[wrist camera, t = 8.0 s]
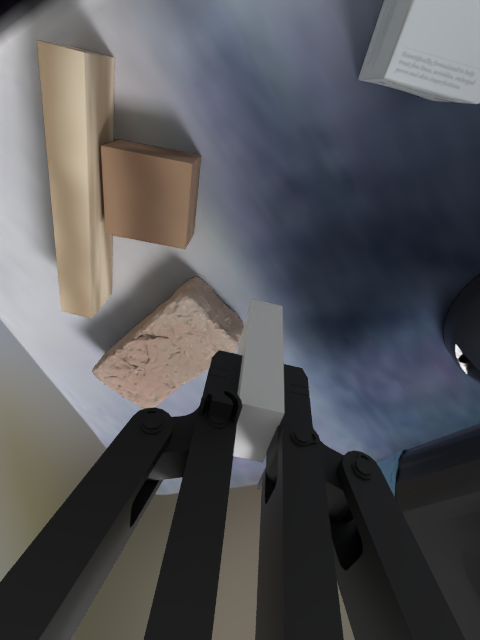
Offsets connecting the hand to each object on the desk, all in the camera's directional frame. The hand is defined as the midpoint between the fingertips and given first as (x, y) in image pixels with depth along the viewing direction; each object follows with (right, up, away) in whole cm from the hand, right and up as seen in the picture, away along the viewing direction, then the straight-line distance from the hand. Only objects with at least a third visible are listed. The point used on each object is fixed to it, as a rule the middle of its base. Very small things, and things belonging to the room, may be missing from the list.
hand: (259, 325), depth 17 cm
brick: (-9, -1, +24) cm, 26 cm away
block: (-8, +12, +15) cm, 21 cm away
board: (-14, +12, +15) cm, 24 cm away
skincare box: (+11, +20, +7) cm, 24 cm away
